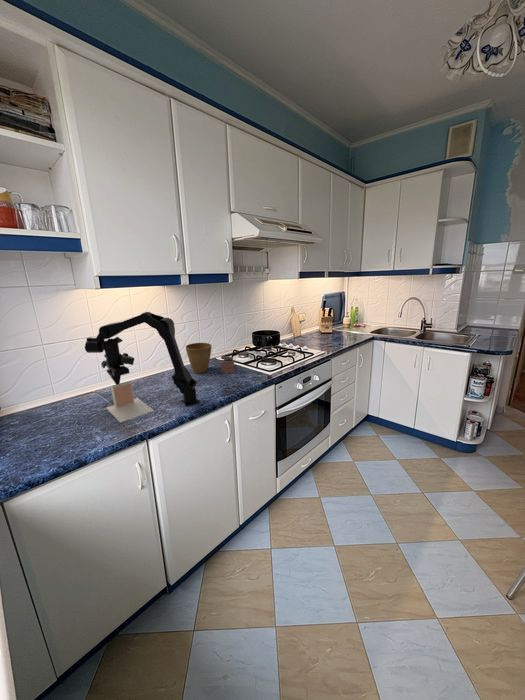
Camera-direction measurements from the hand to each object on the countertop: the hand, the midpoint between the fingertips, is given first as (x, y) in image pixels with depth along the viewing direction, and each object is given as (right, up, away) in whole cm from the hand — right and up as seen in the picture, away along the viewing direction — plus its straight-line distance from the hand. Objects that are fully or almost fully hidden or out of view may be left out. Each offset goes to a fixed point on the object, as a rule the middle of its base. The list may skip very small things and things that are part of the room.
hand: (117, 384), depth 133 cm
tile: (+4, -9, -2) cm, 10 cm away
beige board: (+8, -11, -6) cm, 14 cm away
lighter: (+46, +2, +38) cm, 60 cm away
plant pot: (+29, +3, +41) cm, 50 cm away
